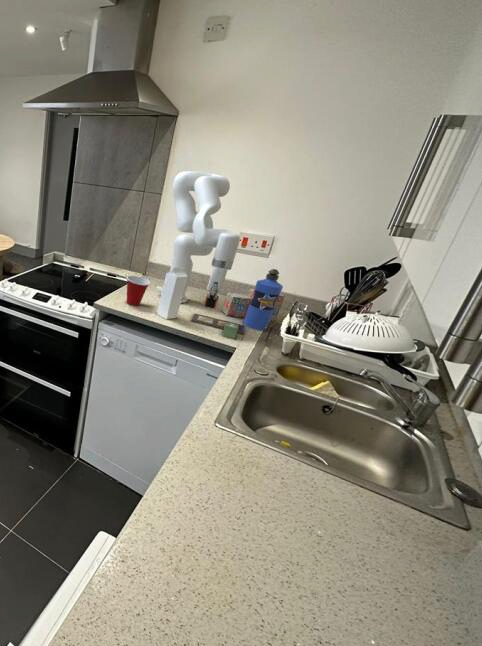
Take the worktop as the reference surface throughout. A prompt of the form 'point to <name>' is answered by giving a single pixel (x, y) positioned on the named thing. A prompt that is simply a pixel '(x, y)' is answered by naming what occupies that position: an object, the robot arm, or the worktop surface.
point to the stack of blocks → (246, 304)
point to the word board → (214, 322)
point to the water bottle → (263, 301)
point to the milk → (172, 293)
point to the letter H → (215, 301)
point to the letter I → (230, 330)
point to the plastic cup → (136, 289)
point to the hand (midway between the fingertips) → (210, 305)
